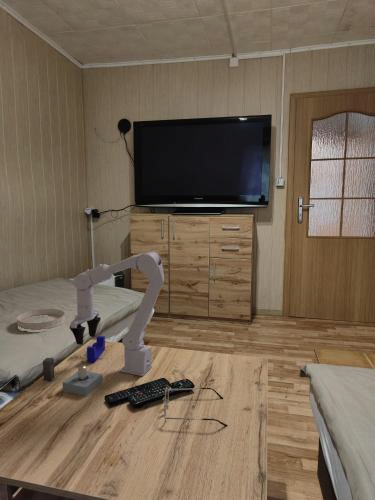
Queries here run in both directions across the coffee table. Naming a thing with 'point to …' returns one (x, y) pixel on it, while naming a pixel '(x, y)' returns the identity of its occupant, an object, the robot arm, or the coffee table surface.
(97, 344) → the blue arched block
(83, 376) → the round bit
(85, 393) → the socket block
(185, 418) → the eyeglasses
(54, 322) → the dish
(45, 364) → the square bit
